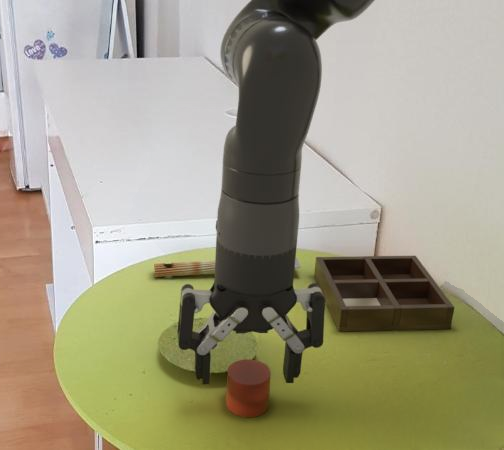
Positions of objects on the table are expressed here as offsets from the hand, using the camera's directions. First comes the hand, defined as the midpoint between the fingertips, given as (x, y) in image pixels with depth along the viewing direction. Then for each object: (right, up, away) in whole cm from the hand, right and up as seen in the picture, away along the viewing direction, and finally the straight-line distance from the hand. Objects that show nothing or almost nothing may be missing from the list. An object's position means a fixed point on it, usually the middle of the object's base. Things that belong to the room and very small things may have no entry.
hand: (246, 379), depth 77 cm
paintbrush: (-1, +9, +27) cm, 29 cm away
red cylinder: (0, -3, +1) cm, 3 cm away
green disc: (-4, +1, +9) cm, 10 cm away
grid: (+18, +6, +22) cm, 29 cm away
